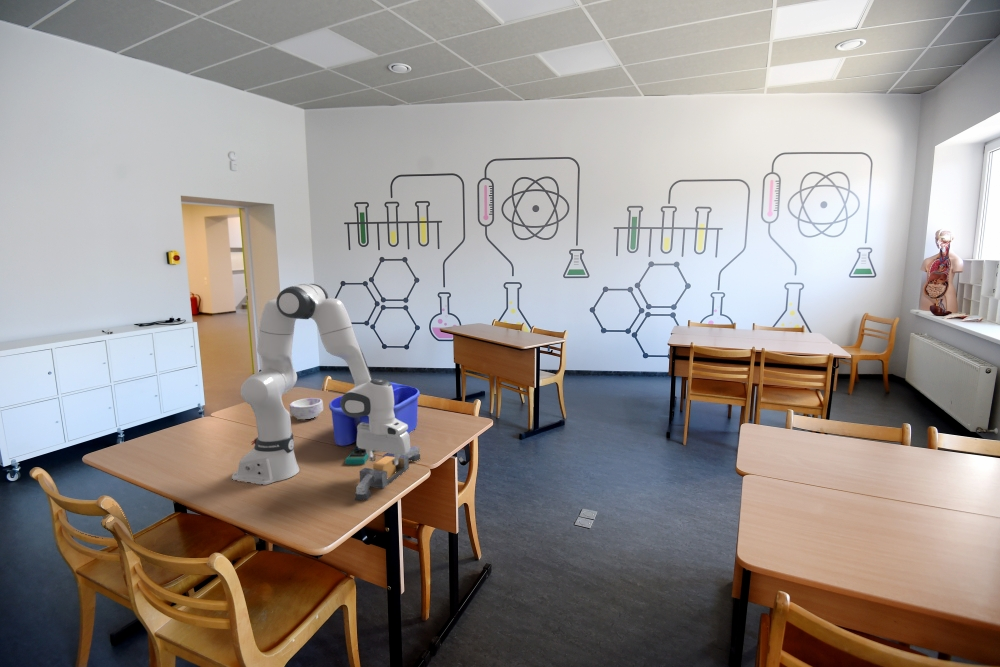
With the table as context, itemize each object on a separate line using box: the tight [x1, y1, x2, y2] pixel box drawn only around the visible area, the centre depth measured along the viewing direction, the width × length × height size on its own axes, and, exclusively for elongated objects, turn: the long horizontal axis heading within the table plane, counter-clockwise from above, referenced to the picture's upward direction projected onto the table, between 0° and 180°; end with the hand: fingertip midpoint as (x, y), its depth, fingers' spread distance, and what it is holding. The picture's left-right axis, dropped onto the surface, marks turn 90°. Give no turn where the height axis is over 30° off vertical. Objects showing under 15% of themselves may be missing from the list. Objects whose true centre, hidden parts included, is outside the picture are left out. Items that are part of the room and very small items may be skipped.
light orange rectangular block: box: [372, 456, 397, 478], centre depth 179 cm, size 8×4×6 cm, turn 159°
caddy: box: [328, 381, 421, 446], centre depth 221 cm, size 32×45×23 cm
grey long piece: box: [354, 445, 421, 501], centre depth 179 cm, size 37×9×5 cm, turn 160°
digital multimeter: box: [344, 445, 374, 466], centre depth 197 cm, size 7×15×3 cm, turn 179°
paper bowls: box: [289, 397, 324, 420], centre depth 246 cm, size 15×15×8 cm
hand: (383, 462), depth 178 cm, fingers open, 8 cm apart
